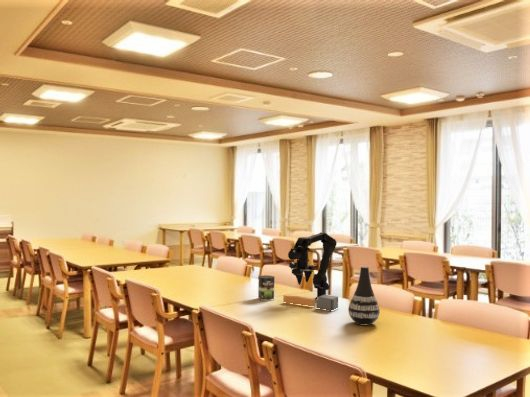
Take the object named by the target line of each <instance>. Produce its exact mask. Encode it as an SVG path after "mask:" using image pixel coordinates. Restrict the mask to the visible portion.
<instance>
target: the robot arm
mask: <svg viewBox="0 0 530 397" xmlns="http://www.w3.org/2000/svg"><path fill="white" fill-rule="evenodd" d="M317 242H321V243H322V249H323V251H322V252H323V253H322V256H321V261H320V264H319V267H318V272H317V273H314V274H313V272H314V270H315V266H314V265H312V264H309V262H310V260H309V258H308V257H309V255H308V254H309V251H311V249H310V248H309V247H310V246H312V244H313V243H317ZM336 247H337V240H336V239H335V238H334V237H332V236H330V235H329V234H328V233H326V232H319V233H316V234H312V235H310V236H305V237H303V236H302V237H298V238H297V240H296V242H295V243H294V246H293V247H292V248H290V250H289V251H288V253H287V258H288V259H289V260H291V261H292V262H289V263H288V264H289V265H288V268H290V269H291V274H292V275H294V276H295V277H296V281H297V284H298V286H301V284H302V280H303V278H304V281H305V282H306V283H308V282H309V280H310V277H311V275H312V274H313V278H312V284H313V288H314V289H316V298H318V297H320V296H322V295H327V291H328V290H330V287H331V286H330V284H329V283H328V282H327V281H328V278H327V270H328V267H329V263H330V259H331V255H332V253H333V251H335V249H336ZM294 260H296V262H293V261H294Z"/></svg>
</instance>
